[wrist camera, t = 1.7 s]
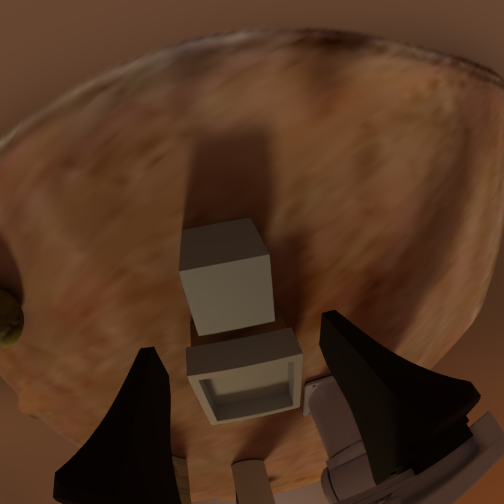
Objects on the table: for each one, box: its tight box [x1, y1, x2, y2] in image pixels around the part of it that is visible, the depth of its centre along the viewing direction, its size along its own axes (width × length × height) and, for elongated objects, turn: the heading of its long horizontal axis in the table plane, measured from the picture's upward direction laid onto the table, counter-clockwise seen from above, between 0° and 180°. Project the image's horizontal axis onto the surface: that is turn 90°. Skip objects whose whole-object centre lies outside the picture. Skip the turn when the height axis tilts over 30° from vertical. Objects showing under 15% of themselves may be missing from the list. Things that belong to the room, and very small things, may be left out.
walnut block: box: [190, 306, 287, 347], centre depth 22 cm, size 7×7×3 cm
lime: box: [0, 288, 24, 348], centre depth 14 cm, size 4×5×5 cm
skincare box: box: [172, 456, 191, 504], centre depth 28 cm, size 6×4×12 cm
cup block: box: [186, 327, 303, 425], centre depth 20 cm, size 8×8×3 cm
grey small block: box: [179, 218, 275, 336], centre depth 16 cm, size 4×4×5 cm
